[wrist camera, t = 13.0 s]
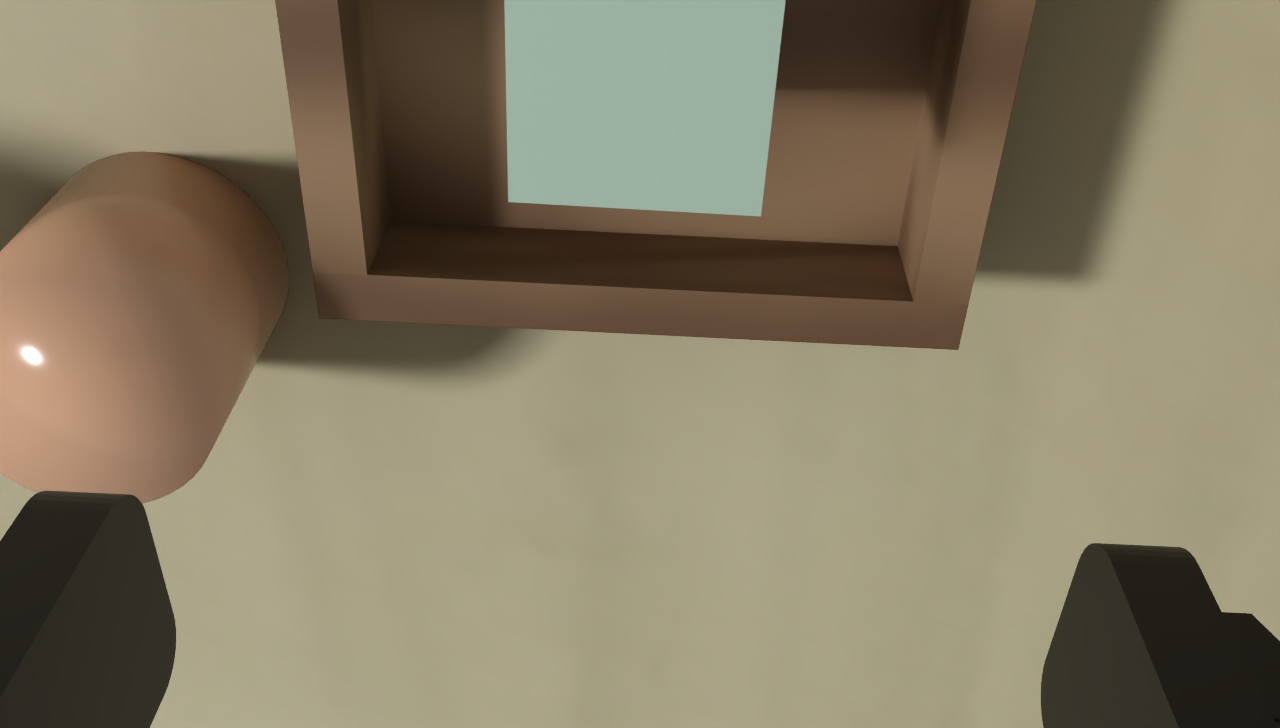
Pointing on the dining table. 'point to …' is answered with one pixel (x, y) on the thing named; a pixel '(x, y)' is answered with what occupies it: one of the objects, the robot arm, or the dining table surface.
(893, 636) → the dining table surface
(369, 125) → the tray
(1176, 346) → the dining table surface
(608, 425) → the dining table surface
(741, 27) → the sage block
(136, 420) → the peach capsule shape
